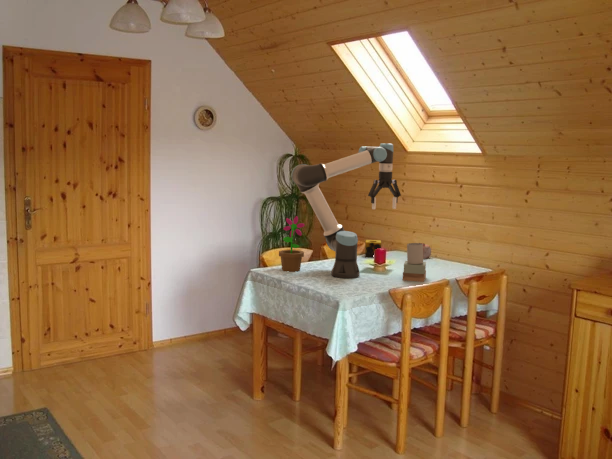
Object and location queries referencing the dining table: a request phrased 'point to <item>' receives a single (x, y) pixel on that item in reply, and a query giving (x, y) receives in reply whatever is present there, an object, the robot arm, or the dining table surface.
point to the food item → (426, 251)
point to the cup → (415, 253)
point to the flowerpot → (291, 257)
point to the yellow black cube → (371, 247)
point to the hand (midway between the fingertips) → (384, 209)
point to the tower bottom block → (414, 277)
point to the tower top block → (415, 268)
